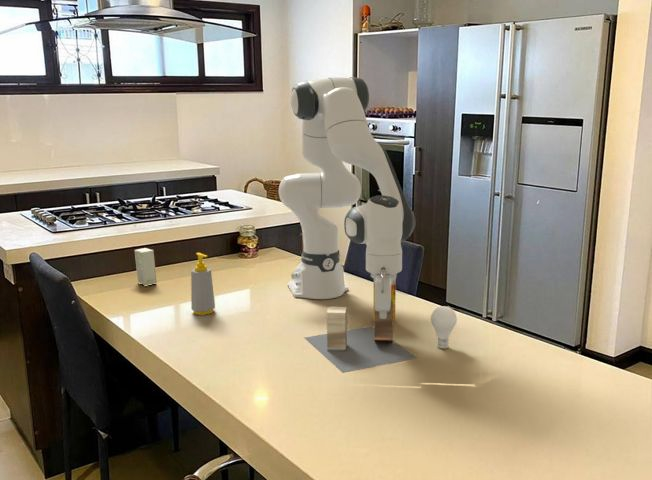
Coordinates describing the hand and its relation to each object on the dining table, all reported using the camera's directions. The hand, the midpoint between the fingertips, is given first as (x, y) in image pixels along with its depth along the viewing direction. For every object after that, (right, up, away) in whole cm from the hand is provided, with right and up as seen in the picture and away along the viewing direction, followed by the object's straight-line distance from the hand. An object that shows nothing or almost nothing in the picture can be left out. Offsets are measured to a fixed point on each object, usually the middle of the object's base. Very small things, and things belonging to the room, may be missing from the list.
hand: (383, 316), depth 157 cm
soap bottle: (-51, -3, +30) cm, 59 cm away
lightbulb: (+15, -8, +1) cm, 17 cm away
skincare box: (-76, +4, +60) cm, 97 cm away
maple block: (-11, -8, +1) cm, 14 cm away
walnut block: (0, -6, +2) cm, 7 cm away
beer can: (+2, -4, +20) cm, 20 cm away
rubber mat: (-6, -8, +1) cm, 10 cm away
